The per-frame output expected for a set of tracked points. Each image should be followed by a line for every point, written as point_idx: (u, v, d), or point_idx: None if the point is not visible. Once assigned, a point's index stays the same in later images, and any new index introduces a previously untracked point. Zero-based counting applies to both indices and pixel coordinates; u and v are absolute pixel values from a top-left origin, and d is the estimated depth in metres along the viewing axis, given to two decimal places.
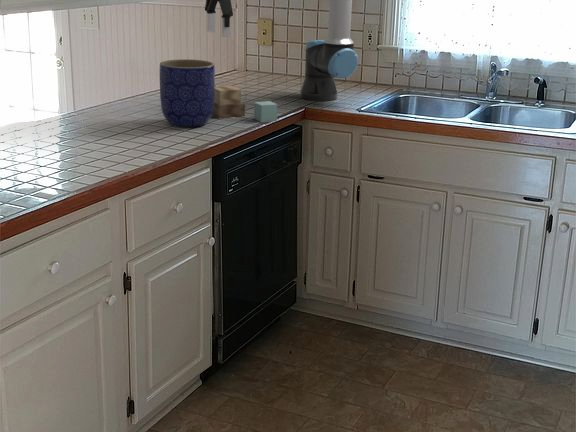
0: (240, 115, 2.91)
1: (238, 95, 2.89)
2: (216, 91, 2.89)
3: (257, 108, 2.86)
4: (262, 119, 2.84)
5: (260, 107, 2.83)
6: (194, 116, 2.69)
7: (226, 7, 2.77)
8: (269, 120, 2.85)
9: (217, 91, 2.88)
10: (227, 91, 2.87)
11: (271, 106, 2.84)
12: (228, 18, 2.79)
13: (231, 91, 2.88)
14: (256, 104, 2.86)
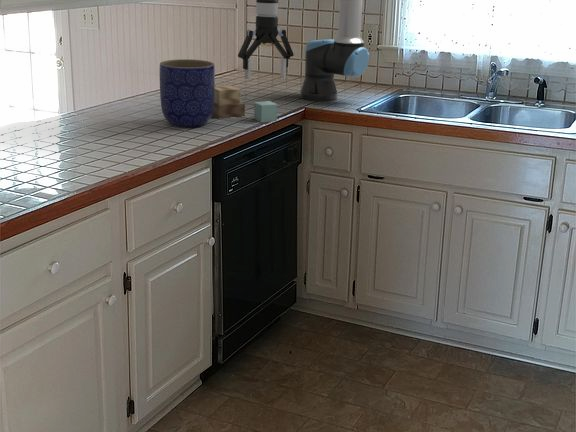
0: (240, 115, 2.91)
1: (237, 95, 2.89)
2: (215, 91, 2.89)
3: (257, 108, 2.86)
4: (262, 119, 2.84)
5: (260, 107, 2.83)
6: (194, 116, 2.69)
7: (241, 49, 2.77)
8: (269, 120, 2.85)
9: (216, 91, 2.88)
10: (226, 91, 2.87)
11: (271, 106, 2.84)
12: (243, 60, 2.77)
13: (230, 91, 2.88)
14: (256, 104, 2.86)
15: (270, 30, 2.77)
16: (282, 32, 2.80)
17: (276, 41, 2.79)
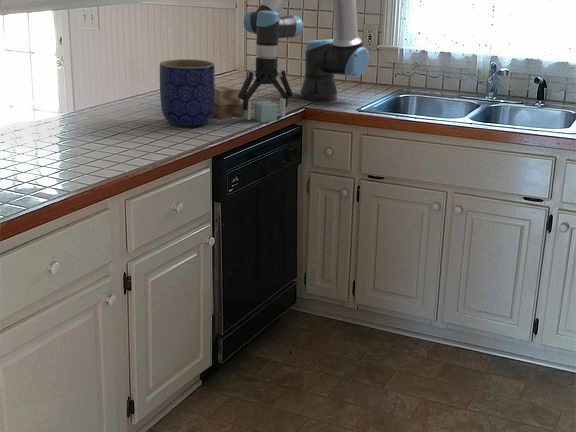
0: (240, 115, 2.91)
1: (237, 95, 2.89)
2: (215, 91, 2.88)
3: (257, 108, 2.86)
4: (262, 119, 2.84)
5: (260, 107, 2.83)
6: (194, 116, 2.69)
7: (241, 90, 2.81)
8: (269, 120, 2.85)
9: (216, 91, 2.88)
10: (227, 91, 2.87)
11: (271, 106, 2.84)
12: (244, 101, 2.82)
13: (230, 91, 2.88)
14: (256, 104, 2.86)
15: (270, 71, 2.82)
16: (282, 73, 2.84)
17: (276, 82, 2.83)
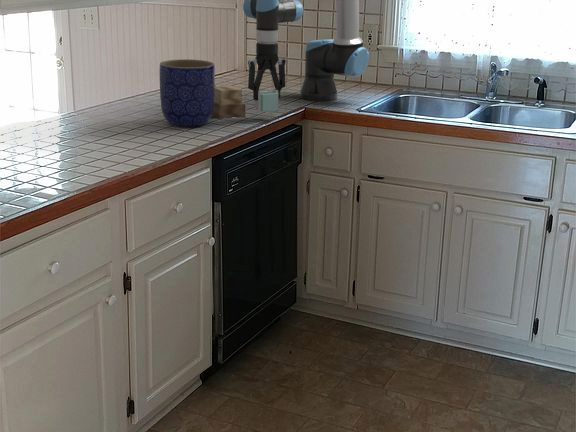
0: (241, 115, 2.91)
1: (239, 95, 2.89)
2: (217, 91, 2.89)
3: None
4: (263, 109, 2.83)
5: (261, 96, 2.82)
6: (194, 116, 2.69)
7: (248, 81, 2.81)
8: (270, 109, 2.85)
9: (218, 91, 2.88)
10: (228, 91, 2.87)
11: (272, 95, 2.83)
12: (254, 91, 2.83)
13: (232, 91, 2.88)
14: None
15: (272, 54, 2.80)
16: (282, 61, 2.83)
17: (274, 69, 2.82)
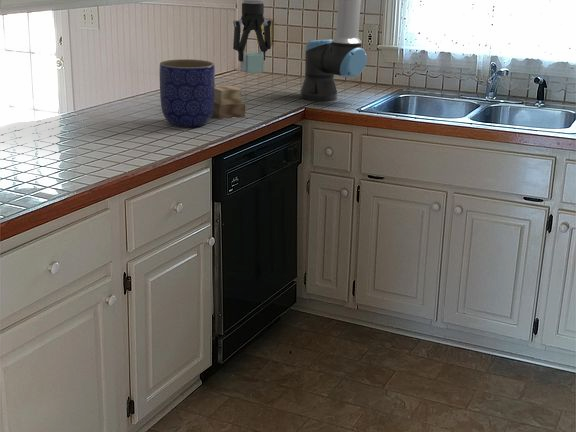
0: (241, 115, 2.91)
1: (239, 95, 2.89)
2: (217, 91, 2.88)
3: None
4: (248, 70, 2.80)
5: (246, 57, 2.80)
6: (194, 116, 2.69)
7: (234, 41, 2.79)
8: (256, 71, 2.82)
9: (218, 91, 2.87)
10: (228, 91, 2.87)
11: (257, 56, 2.81)
12: (239, 52, 2.80)
13: (232, 91, 2.87)
14: None
15: (257, 15, 2.78)
16: (267, 22, 2.81)
17: (259, 29, 2.79)
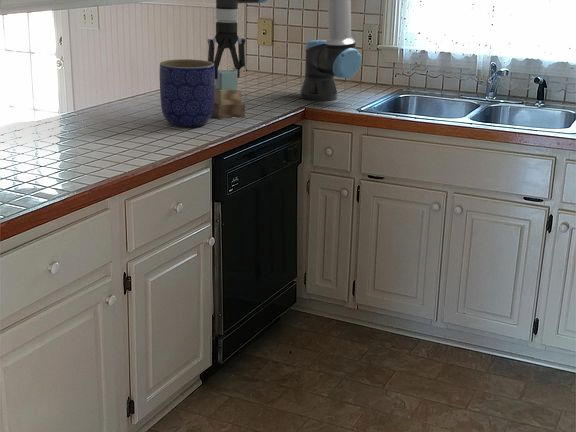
0: (240, 115, 2.91)
1: (239, 95, 2.89)
2: (216, 91, 2.88)
3: None
4: (222, 87, 2.87)
5: (220, 74, 2.86)
6: (194, 116, 2.69)
7: (208, 59, 2.85)
8: (229, 88, 2.88)
9: (218, 91, 2.87)
10: (228, 91, 2.87)
11: (231, 74, 2.87)
12: None
13: (232, 91, 2.87)
14: None
15: (231, 33, 2.84)
16: (241, 40, 2.87)
17: (233, 48, 2.85)
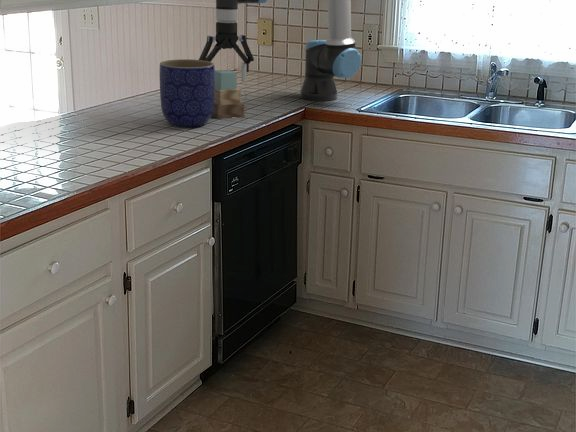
0: (239, 115, 2.90)
1: (238, 95, 2.89)
2: (216, 91, 2.88)
3: (217, 76, 2.88)
4: (221, 87, 2.87)
5: (220, 74, 2.86)
6: (194, 116, 2.69)
7: (201, 54, 2.83)
8: (229, 88, 2.88)
9: (217, 91, 2.87)
10: (227, 91, 2.86)
11: (231, 74, 2.87)
12: None
13: (231, 91, 2.87)
14: (216, 72, 2.89)
15: (230, 36, 2.84)
16: (242, 37, 2.87)
17: (236, 46, 2.86)
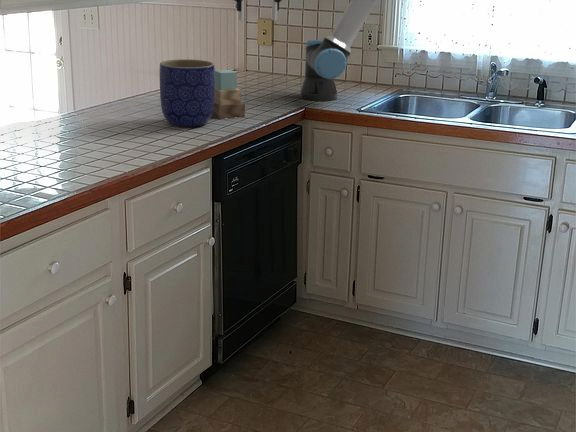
0: (240, 115, 2.90)
1: (238, 95, 2.89)
2: (216, 91, 2.88)
3: (217, 76, 2.88)
4: (221, 87, 2.86)
5: (219, 74, 2.86)
6: (194, 116, 2.69)
7: None
8: (229, 88, 2.88)
9: (217, 91, 2.87)
10: (227, 91, 2.86)
11: (230, 74, 2.86)
12: (237, 2, 2.96)
13: (231, 91, 2.87)
14: (216, 72, 2.89)
15: None
16: None
17: None
